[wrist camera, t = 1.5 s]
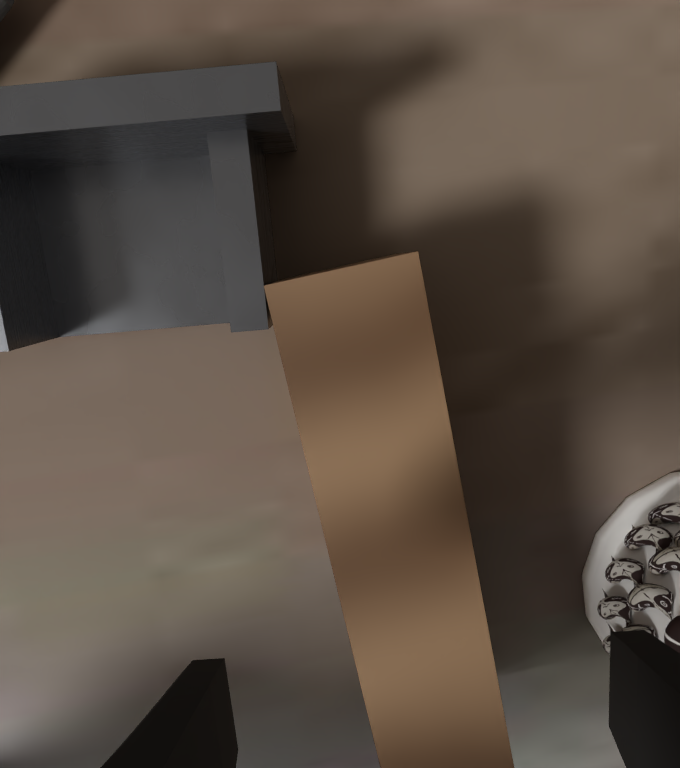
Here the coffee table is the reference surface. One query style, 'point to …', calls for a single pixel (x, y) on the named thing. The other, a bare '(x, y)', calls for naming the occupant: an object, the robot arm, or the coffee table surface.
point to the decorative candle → (637, 566)
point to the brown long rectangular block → (392, 509)
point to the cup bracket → (138, 202)
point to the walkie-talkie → (5, 7)
